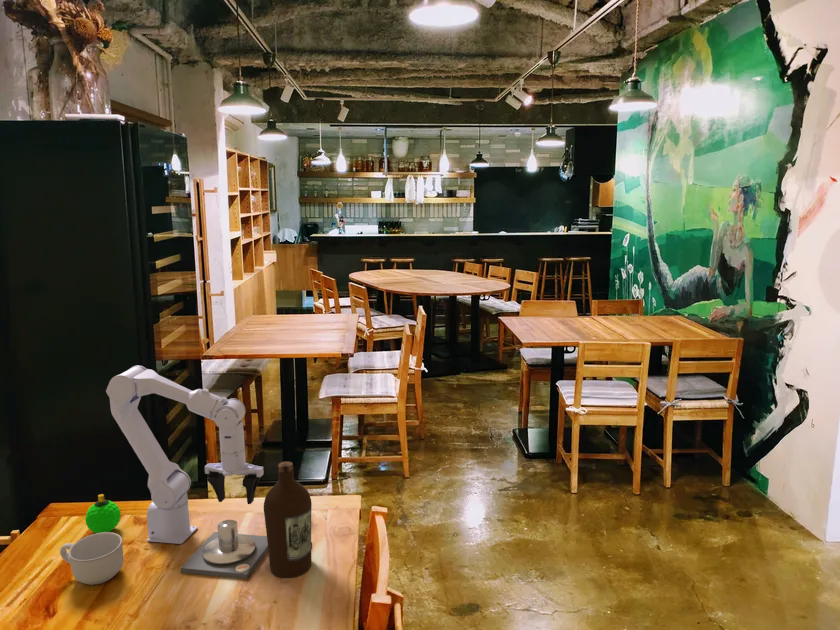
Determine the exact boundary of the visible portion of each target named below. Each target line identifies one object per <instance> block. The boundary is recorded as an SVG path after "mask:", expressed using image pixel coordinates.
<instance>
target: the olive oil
mask: <svg viewBox="0 0 840 630" xmlns="http://www.w3.org/2000/svg"><path fill="white" fill-rule="evenodd" d="M277 467H278V471H277V473H278V479H277V482H276V483H275V484H274V485H273V486H272V487H271V488H270V490H268V492H267V493H266V495H265V498H264V501H263V516H264V525H265V533H266V536H267V542H268V551H267V552H268V562H269V570H270V573H272V575H274V576H276V577H279V578H284V579H287V578H295V577H298V576H301V575H304V574H305V573H306V572H308V571H309V570H310V568H311V567H312V550H313V541H312V505H313V504H312V499H311V495H310V492H309V491H308V489H307V488H306V487H305V486H303V484H302V483H300V482H298V481H297V480H296V478H295V477H294V476H295V474H294V473H295V471H294V470H295V469H294V463H293V462H291V461H283V462H282V461H281V462H280V463H278V466H277Z"/></svg>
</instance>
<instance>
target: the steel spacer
mask: <svg viewBox="0 0 840 630" xmlns="http://www.w3.org/2000/svg"><path fill="white" fill-rule="evenodd" d="M238 531H239V530H238V522H237V520H235V519H225V520H222V521H220V522H219V523H217V532H218V540H219V550H220V552H223V553H230V552H233V551H235V550H237V549H238V547H239V545H238V534H239V532H238Z"/></svg>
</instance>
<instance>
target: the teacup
mask: <svg viewBox="0 0 840 630" xmlns="http://www.w3.org/2000/svg"><path fill="white" fill-rule="evenodd" d="M67 549H68V551H67ZM59 554H60V556H61V558H62V559H63V560H64V561H65V563H68V564H69V565H70V568H71V572H72V576H73V578H74V579H75V580H76V581H77V582H79V583H82V584H86V585H91V586H93V585H94V584H95V585H101V584H104V583H105V582H108V581H109V580H111V579H113V577H114V576H116V575H117V574H118V573H119V571H121V568H122V567H123V566H124V565H123V564H124V549H123V537H122V536H121V535H120V534H118V533H117V532H116V533H115V532H111V531H110V532H103V533H92V534H90V535H87V536H84V537H83V538H80V539H78V541H75V543H72V542H67V543H64V544H63V545H62V546H61V547H60V549H59Z"/></svg>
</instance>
